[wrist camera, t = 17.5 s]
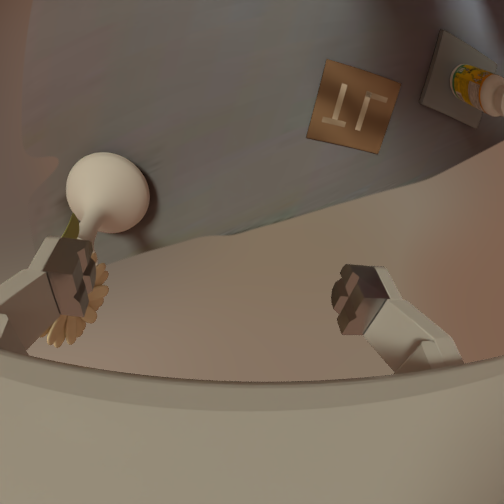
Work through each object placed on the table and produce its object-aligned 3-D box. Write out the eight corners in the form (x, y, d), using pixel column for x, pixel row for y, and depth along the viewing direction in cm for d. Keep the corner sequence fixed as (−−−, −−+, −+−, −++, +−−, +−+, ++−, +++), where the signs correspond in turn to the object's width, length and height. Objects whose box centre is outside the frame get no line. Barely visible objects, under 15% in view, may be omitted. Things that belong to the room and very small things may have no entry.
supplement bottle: (448, 100, 33) (495, 125, 25) (447, 62, 30) (497, 80, 22) (476, 99, 33) (523, 125, 25) (476, 64, 29) (526, 83, 22)
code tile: (326, 59, 31) (327, 59, 31) (400, 83, 32) (401, 83, 32) (306, 137, 37) (306, 137, 37) (377, 153, 39) (377, 154, 38)
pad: (440, 29, 27) (443, 29, 27) (494, 63, 29) (497, 64, 29) (418, 102, 34) (422, 104, 33) (473, 127, 36) (476, 129, 35)
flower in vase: (131, 236, 44) (88, 402, 24) (61, 202, 39) (-22, 354, 19) (174, 162, 37) (131, 335, 18) (93, 120, 33) (-31, 258, 13)
